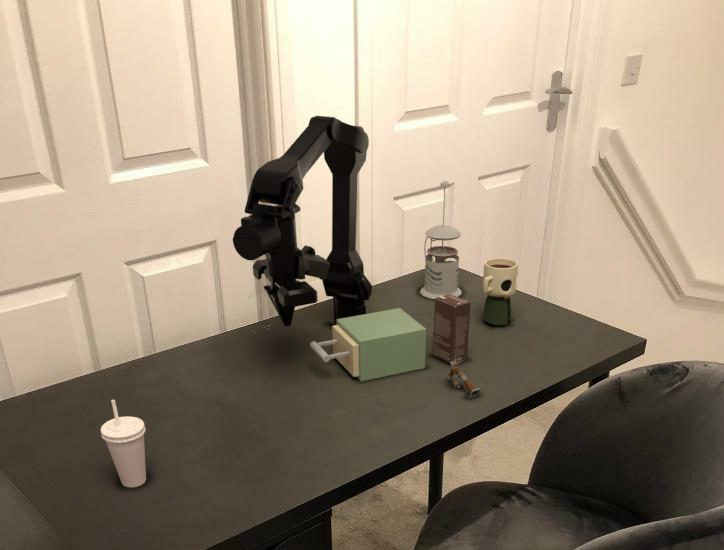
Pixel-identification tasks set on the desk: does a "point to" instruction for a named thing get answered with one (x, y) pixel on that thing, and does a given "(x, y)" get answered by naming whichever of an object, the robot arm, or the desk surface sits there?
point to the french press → (441, 261)
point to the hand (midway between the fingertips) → (287, 325)
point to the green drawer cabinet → (386, 342)
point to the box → (451, 328)
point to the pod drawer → (340, 350)
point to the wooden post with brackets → (462, 378)
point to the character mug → (499, 289)
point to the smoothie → (126, 447)
